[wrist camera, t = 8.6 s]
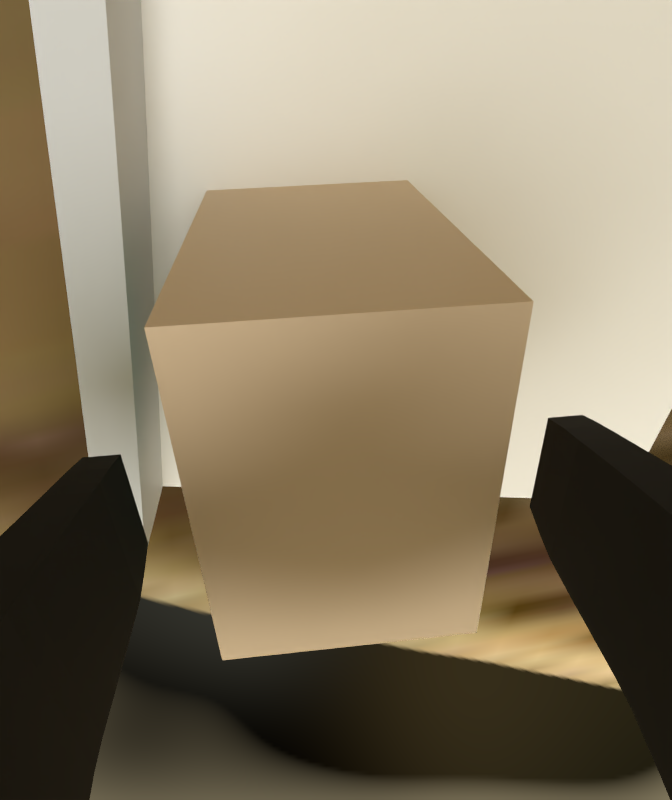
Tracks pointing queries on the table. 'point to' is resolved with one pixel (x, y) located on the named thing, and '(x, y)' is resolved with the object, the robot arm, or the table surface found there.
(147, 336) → the kraft carton
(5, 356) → the table surface
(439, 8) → the large cream panel
